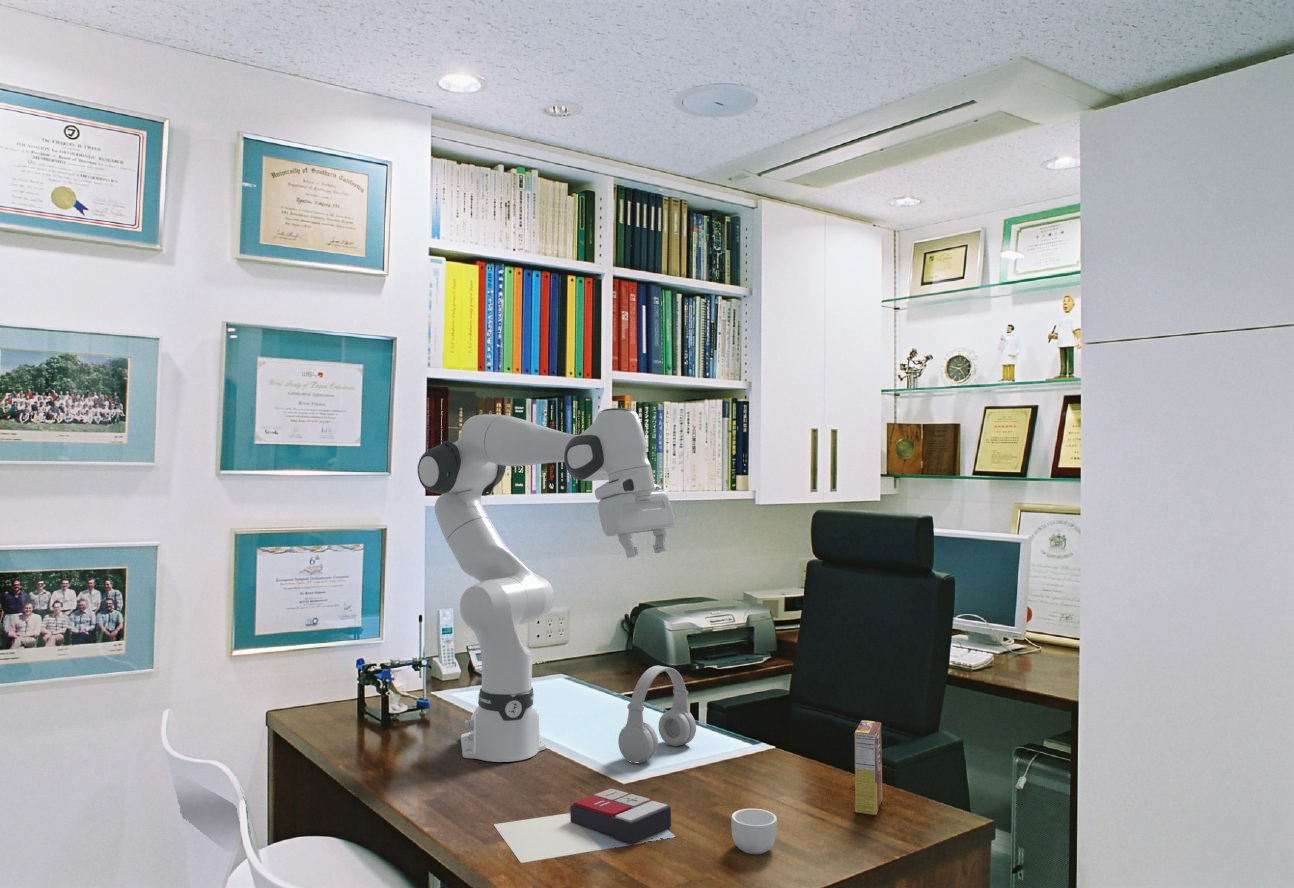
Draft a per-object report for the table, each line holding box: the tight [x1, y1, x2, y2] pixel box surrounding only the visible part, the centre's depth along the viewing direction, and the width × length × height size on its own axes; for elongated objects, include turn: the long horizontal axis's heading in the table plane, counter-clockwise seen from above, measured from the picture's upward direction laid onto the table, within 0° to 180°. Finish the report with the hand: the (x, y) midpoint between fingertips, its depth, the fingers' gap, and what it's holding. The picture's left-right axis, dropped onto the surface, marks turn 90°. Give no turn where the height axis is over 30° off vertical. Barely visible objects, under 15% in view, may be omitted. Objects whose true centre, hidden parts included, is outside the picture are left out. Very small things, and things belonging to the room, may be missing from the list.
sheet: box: [493, 812, 676, 864], centre depth 161 cm, size 17×28×1 cm, turn 115°
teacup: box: [730, 808, 778, 855], centre depth 156 cm, size 10×8×5 cm
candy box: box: [854, 720, 883, 816], centre depth 176 cm, size 9×4×15 cm, turn 158°
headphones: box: [617, 665, 697, 763], centre depth 206 cm, size 20×8×19 cm, turn 144°
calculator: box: [569, 788, 672, 845], centre depth 164 cm, size 11×4×15 cm
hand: (646, 554), depth 179 cm, fingers open, 8 cm apart
